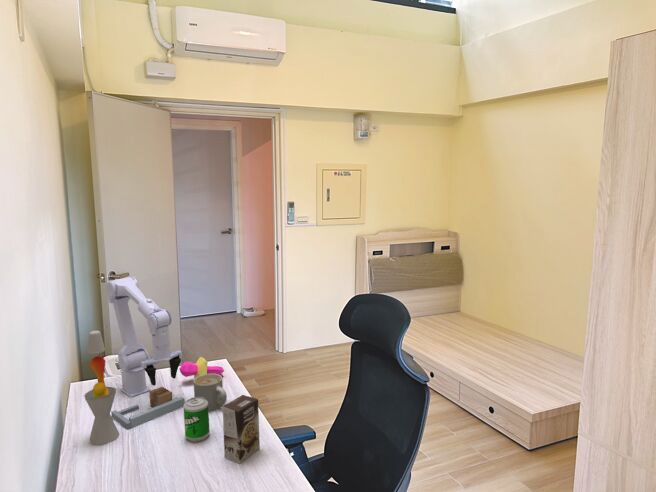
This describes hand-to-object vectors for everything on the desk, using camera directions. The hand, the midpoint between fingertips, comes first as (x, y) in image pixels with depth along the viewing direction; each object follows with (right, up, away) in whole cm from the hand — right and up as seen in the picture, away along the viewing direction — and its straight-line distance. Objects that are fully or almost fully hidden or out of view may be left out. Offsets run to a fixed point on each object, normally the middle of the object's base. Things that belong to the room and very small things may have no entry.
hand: (163, 381), depth 170 cm
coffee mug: (+17, -10, 0) cm, 20 cm away
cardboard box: (-1, -10, 0) cm, 10 cm away
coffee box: (+33, -14, -28) cm, 46 cm away
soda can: (+17, -13, -19) cm, 28 cm away
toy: (+8, -6, +23) cm, 25 cm away
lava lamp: (-12, -13, -19) cm, 26 cm away
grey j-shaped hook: (-4, -10, -2) cm, 11 cm away
